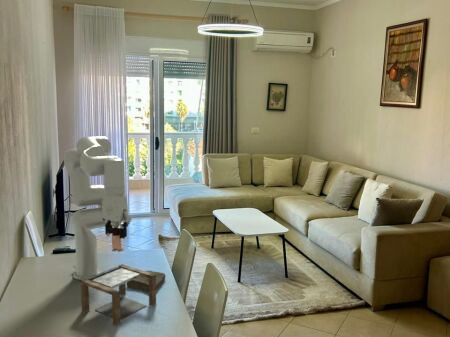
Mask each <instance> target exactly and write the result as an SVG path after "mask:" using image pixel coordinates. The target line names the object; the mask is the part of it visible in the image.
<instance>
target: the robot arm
mask: <svg viewBox="0 0 450 337" xmlns="http://www.w3.org/2000/svg"><path fill="white" fill-rule="evenodd" d="M75 146H76V147H75V148H74V147H73V148H69V149H67V150H66V151H64V154H63V163H64V167H65V170H66V172H67V174H68V176H69V179H70V186H71V194H72V201H73V204H74V206H76V207H91V206H97V207H95V208H86V209H80V210H76V211H75V212H74V213H73V214H72V216H71V222H72V226H73V231H74V240H75V241H74V243H75V261H76V262H75V264H74V265H73V266H72V268H73V269H75V271H74V273H73V278H74V279H75V280H78V281H81V280H83V279H86V280H88V278H89V277H92V276H94V275H97V274H99V273H102V270H101V269H99V267H98V266H99V263H98V238H97V237H96V235H95V234H94V232H92V230H97V229H102V228H105V231H104V232H105V235H106V236H107V233H108V230H110V229H111V228H114V227H113V226H112V225H111V222H112V221H114V222H119V227H118V228H119V237H120V238H121V240H123V238H127V236H128V234H127V233H128V232H127V231H128V229H127V228H128V227H129V226H130V223H131V221H132V217H131V216H130V215H129V210H128V209H129V208H128V200H127V195H126V186H125V185H126V182H125V181H126V178H125V177H126V176H125V174H126V173H125V172H126V171H125V161H124V159H123V158H120V157H119V156H117V155H110V153H111V151H112V143H111V141H110V139H109V138H108V137H107V136H105V135H104V136H103V135H99V136H98V135H97V136H96V135H95V136H83V137H80V138H79V139H78V140H77V141H76V145H75ZM99 176H100V177H101V176H103V177H104V180H103V182H104V185H103V184H91V179H90V177H99Z"/></svg>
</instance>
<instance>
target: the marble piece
mask: <svg viewBox="0 0 450 337" xmlns="http://www.w3.org/2000/svg"><path fill="white" fill-rule="evenodd" d="M145 271H146V272H149V273H152V274H155V275H156V292H157V291H158V290H159V289H160V288H159V287H161V286H162V285H161V284H164V283H165V280H166V273H163V272H159V271H153V270H145ZM126 287H127V288H129V289H133V290H136V291H140V292H143V293H145V294H149V278H147V277H144V276H141V275H140V277H137V278H135V279H133V280H131V281H128V282H126Z"/></svg>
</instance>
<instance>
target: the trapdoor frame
mask: <svg viewBox="0 0 450 337" xmlns="http://www.w3.org/2000/svg"><path fill="white" fill-rule="evenodd" d="M117 267H120V269H121V268H122V269H126V270H129V271H132V272H135V273H138V274H140V275H141V276H144V277H147V278H149V293H148V305H149V306H150V307H151V306H152V307H155V306H156V305H157V291H156V275H155V274H152V273H149V272H146V271H147V270H141V269H138V268H135V267H131V266H129V265H125V264H119V265H117ZM113 272H114V271H113ZM108 274H109V273H108ZM103 276H104V275H103ZM98 278H99V277H98ZM93 280H94V279H93ZM126 287H127V282H126V283H124V284H122V285H120V286H118V289H115V288H113V289H112V288H109V287H106V286H103V285H101V284H98V283H95V282H92V280H91V281H89V280H86V279H83V280H80V297H81V298H80V300H81V301H80V302H81V312H82V313H85V314H86V313H88V312H90V293H89V292H90V289H89V288H91V289H93V290H94V289H95V290H97V291H100V292H103V293H105V294H107V295H111V301H110V302H108V303H106V304H104V305H102V306H100V307H98V308H96V309H94V311H95V312H98V313H101V314H103V315H106V316H108V317H111V318H112V325H113V326H116V327H118V326H119V325H121V320H124V319H125V318H127V317H129V316H131V315H133V314H134V313H137V312H138V311H140V310H143V309H145V308H146V307H147V304H144V303H140V302H137V301H135V300H132V299H129V298H128V297H124V295H126V294H127V288H126Z"/></svg>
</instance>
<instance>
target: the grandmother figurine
mask: <svg viewBox="0 0 450 337" xmlns="http://www.w3.org/2000/svg"><path fill="white" fill-rule="evenodd" d="M111 225H112V226H113V228H111V229H110V230H108V233H107V235H106V237H107V238H108V237H110V235H111V248H112V250H111V251H112V252H116V251H117V253H118V252H119V253H121V252H124V248H123V247H122V240H124V239H125V238H126V237H125V238H122V239H121V238H120V237H119V228H120V225H119V222H114V221H112V222H111Z"/></svg>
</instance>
